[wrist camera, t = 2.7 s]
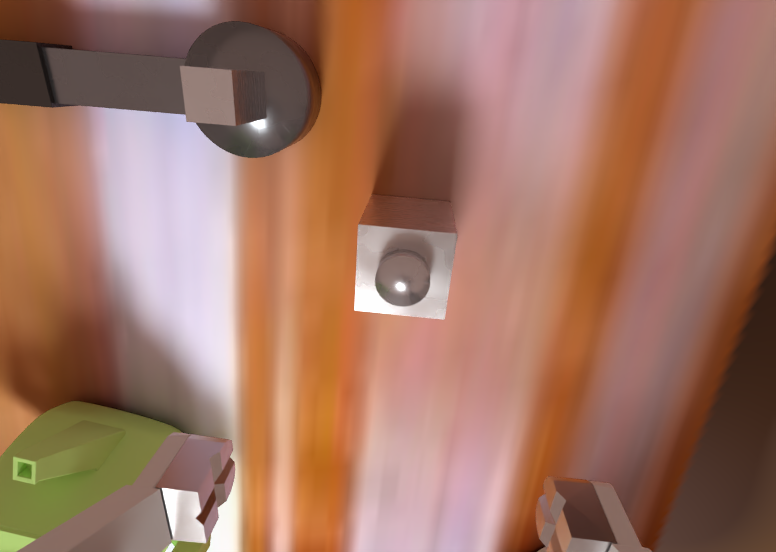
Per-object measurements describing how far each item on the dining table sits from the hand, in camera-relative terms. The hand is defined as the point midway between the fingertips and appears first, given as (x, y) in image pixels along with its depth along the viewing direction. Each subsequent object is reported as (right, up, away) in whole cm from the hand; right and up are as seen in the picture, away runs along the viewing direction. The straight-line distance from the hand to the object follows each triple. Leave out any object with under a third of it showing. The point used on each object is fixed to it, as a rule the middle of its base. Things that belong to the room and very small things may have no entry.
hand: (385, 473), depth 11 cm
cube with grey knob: (+1, +8, +17) cm, 19 cm away
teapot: (-23, -10, +27) cm, 37 cm away
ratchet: (-14, +17, +14) cm, 26 cm away
